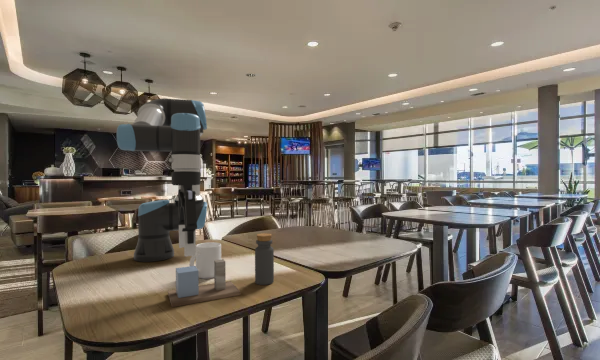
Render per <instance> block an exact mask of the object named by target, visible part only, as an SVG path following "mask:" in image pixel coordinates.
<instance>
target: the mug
mask: <svg viewBox="0 0 600 360" xmlns="http://www.w3.org/2000/svg"><path fill="white" fill-rule="evenodd" d="M221 259H222V243H221V242H216V241H214V242H213V241H212V242H209V241H207V242H202V243H198V244H197V243H196V255H194V256H190V259H189V266H196V268H197V269H198V279H203V280H204V279H206V280H207V279H214V260H221ZM189 266H188V267H189Z"/></svg>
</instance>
